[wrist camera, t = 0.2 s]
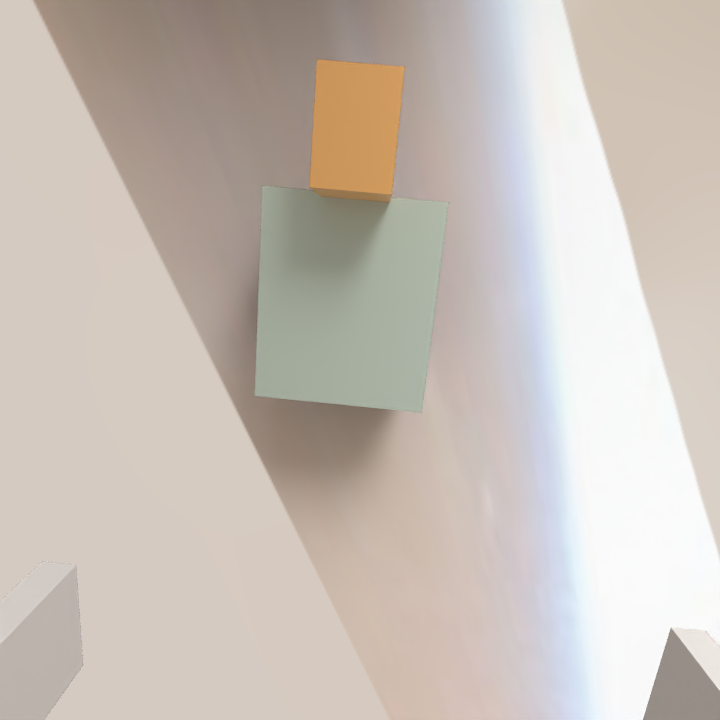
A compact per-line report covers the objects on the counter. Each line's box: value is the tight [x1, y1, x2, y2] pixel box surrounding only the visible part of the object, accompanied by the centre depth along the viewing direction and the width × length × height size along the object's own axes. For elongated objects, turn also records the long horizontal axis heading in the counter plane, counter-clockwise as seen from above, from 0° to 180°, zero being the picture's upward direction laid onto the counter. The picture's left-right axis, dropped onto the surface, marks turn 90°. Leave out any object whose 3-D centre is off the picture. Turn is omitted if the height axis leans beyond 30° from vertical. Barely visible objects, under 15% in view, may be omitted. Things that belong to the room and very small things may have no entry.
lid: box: [255, 59, 449, 413], centre depth 26 cm, size 18×11×6 cm, turn 175°
